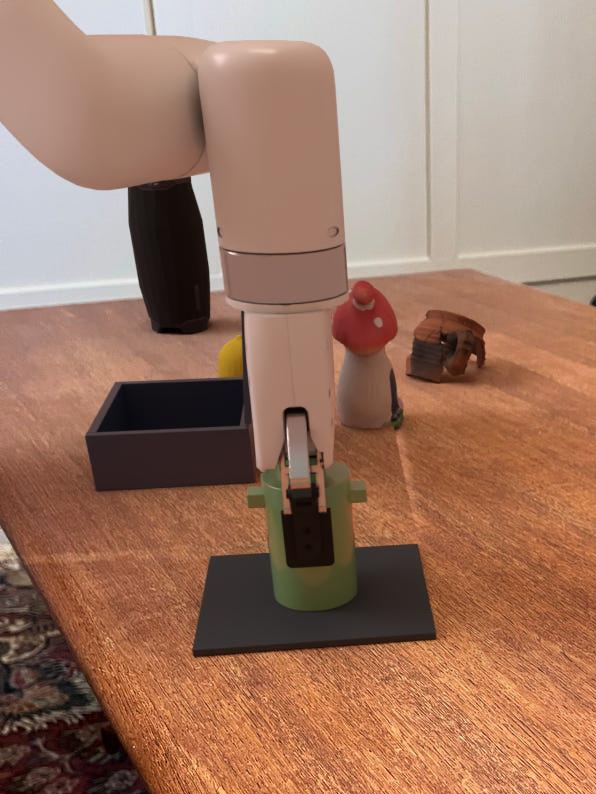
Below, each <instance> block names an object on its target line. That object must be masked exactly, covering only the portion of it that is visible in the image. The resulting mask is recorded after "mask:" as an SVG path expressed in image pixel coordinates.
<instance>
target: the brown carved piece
mask: <svg viewBox="0 0 596 794" xmlns="http://www.w3.org/2000/svg"><path fill="white" fill-rule="evenodd" d="M486 331H487V330H486V328H485V327H484V326H483V325H482V324H481V323H478V321H476V320H474V319H473V318H470V317H468V316H465V315H462V314H460V313H457V312H453V311H448V310H443V309H429V310H427V312H426V313H425V318H424V320H422V321H420V323H419V324H418V325H417V326H416V327H415V328H414V329H413V331H412V332H413V336H414V337H413V341H412V347H411V353H410V354H409V355H407V357H406V359H405V375H407V376H408V375H409V376H416V377H417V378H421V379H424V380H429V381H431V382H436V383H438V384H439V383H441V380H442V374H443V372H444V368H445V370H446V372H447V373H449V374H450V375H451V376H453V377H455V376H456V377H457V376H461V375H464V374H465V373H466V369H467V367H468V363H469V360H470V359H471V356H472V355H474V356H475V357H476V366H477V368H478V369H480V368H481V367H484V366H485V363H486V355H487V352H486V347H485V346H486V341H485V340H484V335H485V334H486Z"/></svg>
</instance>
